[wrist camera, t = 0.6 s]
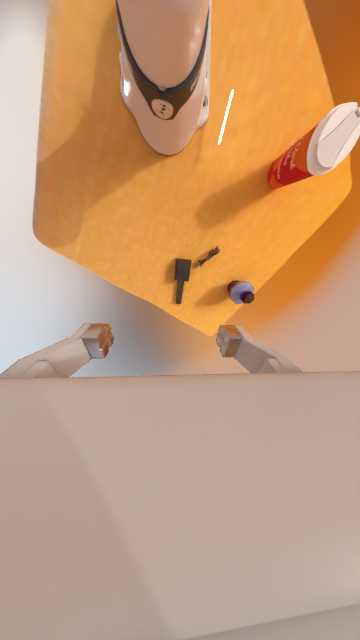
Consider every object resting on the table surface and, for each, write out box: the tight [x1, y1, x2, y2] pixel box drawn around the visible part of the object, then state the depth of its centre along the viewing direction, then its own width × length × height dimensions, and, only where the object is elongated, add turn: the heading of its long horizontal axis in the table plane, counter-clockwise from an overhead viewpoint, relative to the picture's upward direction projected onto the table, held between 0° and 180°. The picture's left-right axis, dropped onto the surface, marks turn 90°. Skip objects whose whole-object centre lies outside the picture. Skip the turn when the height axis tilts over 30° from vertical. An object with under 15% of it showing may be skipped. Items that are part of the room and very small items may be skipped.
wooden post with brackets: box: [198, 246, 220, 267], centre depth 44 cm, size 2×8×4 cm, turn 131°
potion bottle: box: [228, 281, 254, 304], centre depth 47 cm, size 9×9×12 cm
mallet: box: [174, 258, 191, 304], centre depth 48 cm, size 17×5×3 cm, turn 173°
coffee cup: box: [268, 102, 360, 189], centre depth 29 cm, size 8×8×15 cm
